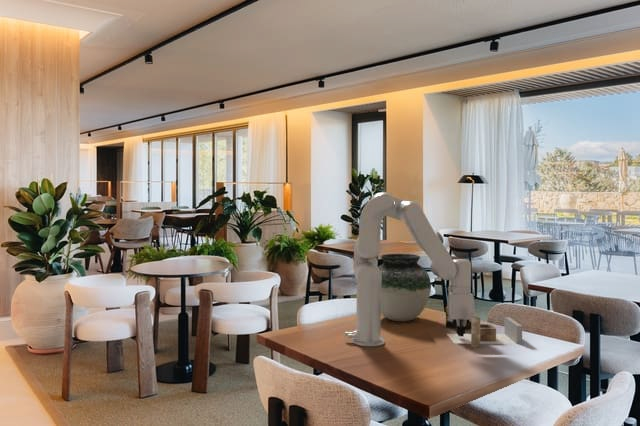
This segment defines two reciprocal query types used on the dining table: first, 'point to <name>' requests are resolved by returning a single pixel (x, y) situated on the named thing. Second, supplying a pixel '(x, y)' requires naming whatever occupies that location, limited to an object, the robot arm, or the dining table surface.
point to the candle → (453, 325)
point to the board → (510, 337)
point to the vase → (403, 287)
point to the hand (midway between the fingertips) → (460, 335)
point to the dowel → (475, 332)
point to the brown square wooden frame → (487, 332)
